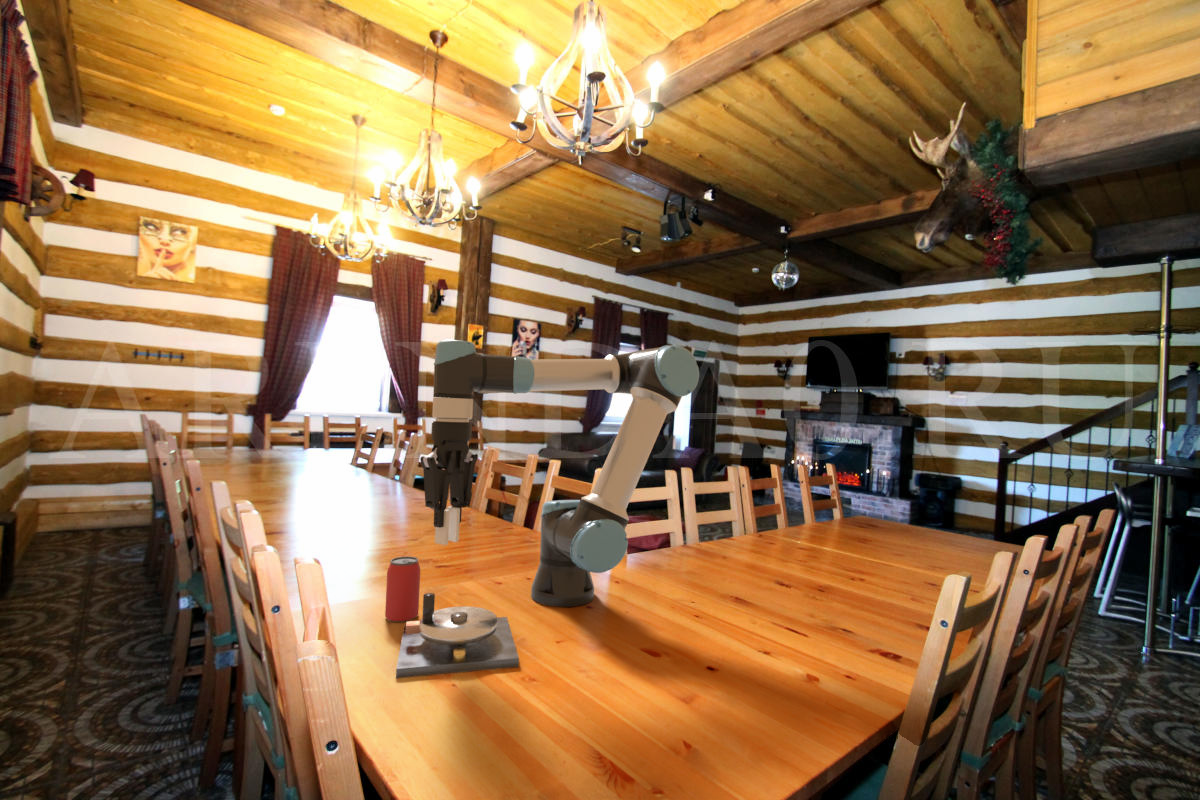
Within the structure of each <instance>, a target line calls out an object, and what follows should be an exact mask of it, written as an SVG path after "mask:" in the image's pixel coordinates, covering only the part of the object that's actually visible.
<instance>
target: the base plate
mask: <svg viewBox="0 0 1200 800" xmlns="http://www.w3.org/2000/svg"><path fill="white" fill-rule="evenodd" d="M519 659H520V657H519V654H518V651H517V648H516V643H515V640H514V636H513V634H512V630H511V627H510V623H509V620H508V617H507V616H501V617H500V616H498V617H497V629H496V631H495V632H494V633H493V634H492V635H491V636H489V637H488V638H485V639H483V640H480V641H477V642H473V643H468V644H459V645H445V644H437V643H433V642H429V641H427V640H425V639H423V638H422V637H421V636H420V634H419V633H418V634H406V623H404V626H403V631H402V637H401V642H400V647H399V653H398V658H397V664H396V670H395V679H400V678H401V679H402V678H411V677H412V678H413V677H424V676H431V675H432V676H434V675H444V674H455V673H456V674H457V673H465V672H475V671H488V670H498V669H507V668H508V669H510V668H519V662H520V661H519Z"/></svg>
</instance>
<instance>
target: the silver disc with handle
mask: <svg viewBox="0 0 1200 800" xmlns="http://www.w3.org/2000/svg"><path fill="white" fill-rule="evenodd" d="M435 600H436V594H435V593H433V592H426V593H424V594H423V598H422V618H420V620H410V621H406V623H405V624H406V634H418V633H419V634H420V636H421V637H422V638H423V639H425V640H427V641H429V642H433V643H437V644H445V645H459V644H468V643H473V642H477V641H480V640H483V639H485V638H488V637H489V636H491V635H492V634H493V633H494V632H495V631H496V629H497V614H495V612H493V611H491V610H489V609H487V608H483V607H476V606H451V607H444V608H441V609H436V610H435V603H436V601H435Z"/></svg>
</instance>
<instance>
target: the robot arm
mask: <svg viewBox="0 0 1200 800" xmlns="http://www.w3.org/2000/svg"><path fill="white" fill-rule="evenodd" d="M433 367H434V368H433V369H434V370H433V397H432V415H431V417H432V418H433V419H435V420H433V421H432V422H431V433H430V434H431V436H430V437H431V440H432V441H433V447H432V448H431V453H429V454H428V455H422V456H421V457H420V458H419V459H420V464H421V465H422V468H423V486H424V487H423V488H424V500H425V502H424V503H425V507H426V508H429V509H432V510H433V527H434V528H435V529H434V543H435V544H437V545H443V546H447V545H449V542H453V543H458V542H459V541H460V540H459V539H460V524H461V522H462V511H463V509H462V508H466V507H467V503H469V502H470V501H471V497H472V495H471V494H472V489H473V482H474V475H475V474H474V473H475V467H476V466H475V465H476V463H477V460H478V458H479V454H478V453H472V452H471V451H470V448H469V444H468V443H469V441H471V440H472V429H473V424H472V423H471V422H470V420H472V419H473V412H474V411H473V409H474V392H476V393H477V394H481V395H484V394H485V395H487V394H504V393H506V394H515V395H517V394H527V393H529V392H533V393H534V392H554V391H555V392H557V391H558V392H559V391H565V392H566V391H587V390H588V391H589V390H594V391H595V390H596V391H597V390H604V391H605V392H607V393H608V394H628V395H631V396H632V400H631V404H630V405H629V407H628V410H627V412H626V413H625V417H624V420H623V422H622V424H621V426H620V427H619V430H618V432H617V435H616V437H615V439H614V442H613V443H612V445H611V447H610V449H609V452H608V454H607V456H606V459H605V461H604V464H603V465H602V468H601V470H600V472H599V475H598V477H597V478H596V481H595V483H594V486H593V488H592V490H591V491H590V494H587V495H585V496H581V499H558V500H548V501H545V502H544V503H543V505H542V507H541V508H542V509H541V514H540V518H541V520H540V522H541V523H540V551H539V552H540V553H539V557H540V558H539V563H538V564H539V565H538V567H537V570H536V573H535V576H534V579H533V581H532V584H531V589H530V591H531V593H530V596H531V597H530V598H531V599H533V601H535V602H537V603H538V604H542V605H545V606H550V607H558V608H560V607H561V608H562V607H563V608H568V607H569V608H570V607H579V606H583V605H585V604H589V603H590V602H592V601H593V600H594V598H595V585H594V581H593V578H592V574H591V573H593V574H601V573H606V572H608V571H610V570H613V569H615V567H617V566H618V565H619V564H620V563H621V561H622V560H623V559H624V557H625V556H626V553H627V550H628V546H629V542H628V541H629V540H628V538H627V536H628V535H627V532H626V527H627V525H628V523H629V520H630V519H629V515H628V514H627V508H628V505H629V504H630V501H631V498H632V497H633V494H634V491H635V489H636V487H637V486H638V483H639V480H640V478H641V475H642V473H643V471H644V469H645V467H646V464H647V463H648V460H649V457H650V454H651V453H652V450H653V448H654V445H655V443H656V441H657V438H658V436H659V434H660V431H661V429H662V427H663V424H664V422H665V420H666V417H667V415H668V414H671V413H673V412H675V411H676V410H677V408H678V406H679V404H680V402H681V399H682V398H683V397H686V396H688V395H689V394H692V392H694V390H696V387H697V386H698V383H699V379H700V369H699V366H698V363H697V360H696V358H695V356H694V355H693V353H692V352H691V351H690V350H689V349H687V348H685V347H683V346H681V345H670V344H666V345H663V346H661V347H654V348H645V349H640V350H635V351H632V352H626V353H621V354H608V355H606V356H605V357H604V358H571V359H570V358H563V359H561V358H560V359H559V358H556V359H555V358H554V359H553V358H552V359H551V358H549V359H548V358H547V359H540V358H539V359H537V358H536V359H530V358H528V357H524V356H523V357H521V356H518V355H514V356H513V355H501V354H499V355H498V354H485V353H480V352H477V350H476V344H475V343H474V342H471V341H465V340H460V339H459V340H458V339H445V340H444V339H443V340H440V341H439V342H438V343H437V344H436V347H435V355H434V363H433ZM449 494H450V495H449ZM448 496H449V497H450V498H449V501H450V502H449V503H450V506H447V504H448Z"/></svg>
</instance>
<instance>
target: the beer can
mask: <svg viewBox="0 0 1200 800" xmlns="http://www.w3.org/2000/svg"><path fill="white" fill-rule="evenodd" d="M389 561H390V564H389V566H388V568H387V573H386V593H385V611H384V615H385V618H386V620H387V621H389V622H392V623H405V621H406V622H409V620H410V621H413V620H414V619H416V618H417V617H418V616H419V610H420V609H419V608H420V607H419V605H420V587H421V586H420V583H421V567H420V563H419V559H418V557H415V556H399V557H395V558H392V559H391V560H389Z"/></svg>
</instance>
